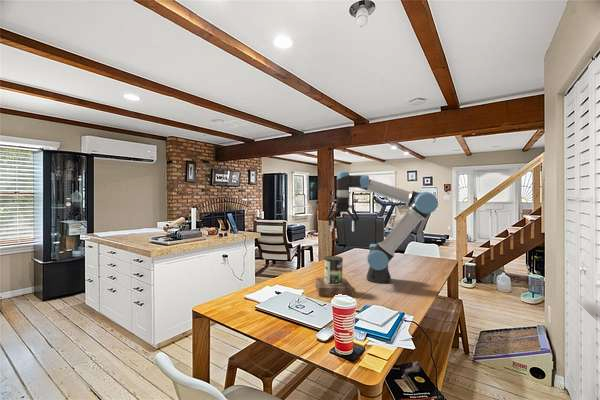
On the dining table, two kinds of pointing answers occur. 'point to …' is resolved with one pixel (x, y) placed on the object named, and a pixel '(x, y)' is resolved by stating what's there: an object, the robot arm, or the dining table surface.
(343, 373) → the dining table surface
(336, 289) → the walnut block
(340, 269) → the coffee can
